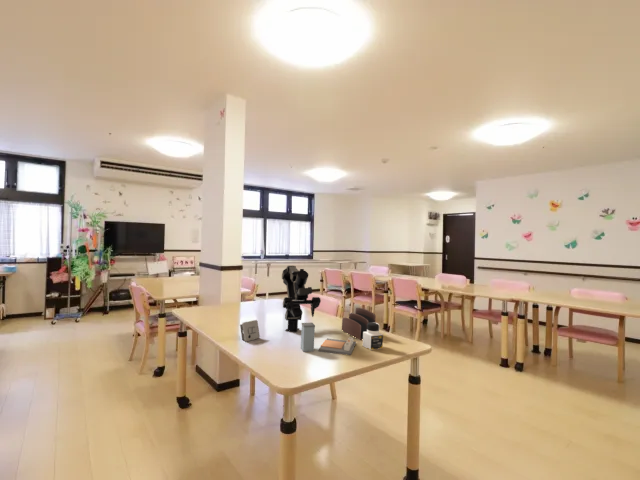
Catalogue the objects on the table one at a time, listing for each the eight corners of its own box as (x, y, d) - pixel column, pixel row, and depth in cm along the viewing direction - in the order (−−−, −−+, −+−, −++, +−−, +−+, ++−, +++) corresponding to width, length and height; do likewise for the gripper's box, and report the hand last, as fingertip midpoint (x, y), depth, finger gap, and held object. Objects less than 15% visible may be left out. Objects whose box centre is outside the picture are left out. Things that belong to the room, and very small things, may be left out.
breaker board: (327, 340, 171) (327, 332, 171) (355, 343, 167) (356, 335, 167) (318, 351, 153) (318, 342, 153) (350, 355, 150) (351, 346, 150)
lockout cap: (300, 348, 157) (301, 322, 157) (311, 347, 158) (312, 322, 158) (303, 351, 152) (304, 325, 152) (313, 351, 153) (315, 325, 153)
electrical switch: (245, 342, 162) (245, 323, 163) (238, 341, 165) (238, 322, 166) (260, 338, 169) (259, 320, 170) (253, 337, 173) (253, 319, 173)
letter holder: (355, 329, 195) (356, 305, 195) (375, 339, 177) (376, 312, 178) (341, 330, 191) (342, 306, 191) (359, 340, 173) (361, 313, 173)
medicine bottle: (370, 350, 158) (371, 325, 158) (362, 346, 164) (363, 321, 164) (382, 348, 161) (383, 324, 161) (373, 344, 167) (374, 320, 167)
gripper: (284, 281, 165) (287, 307, 154) (320, 281, 170) (326, 307, 160) (281, 294, 173) (284, 320, 162) (315, 294, 178) (320, 319, 167)
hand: (303, 316), depth 163 cm, fingers open, 9 cm apart
